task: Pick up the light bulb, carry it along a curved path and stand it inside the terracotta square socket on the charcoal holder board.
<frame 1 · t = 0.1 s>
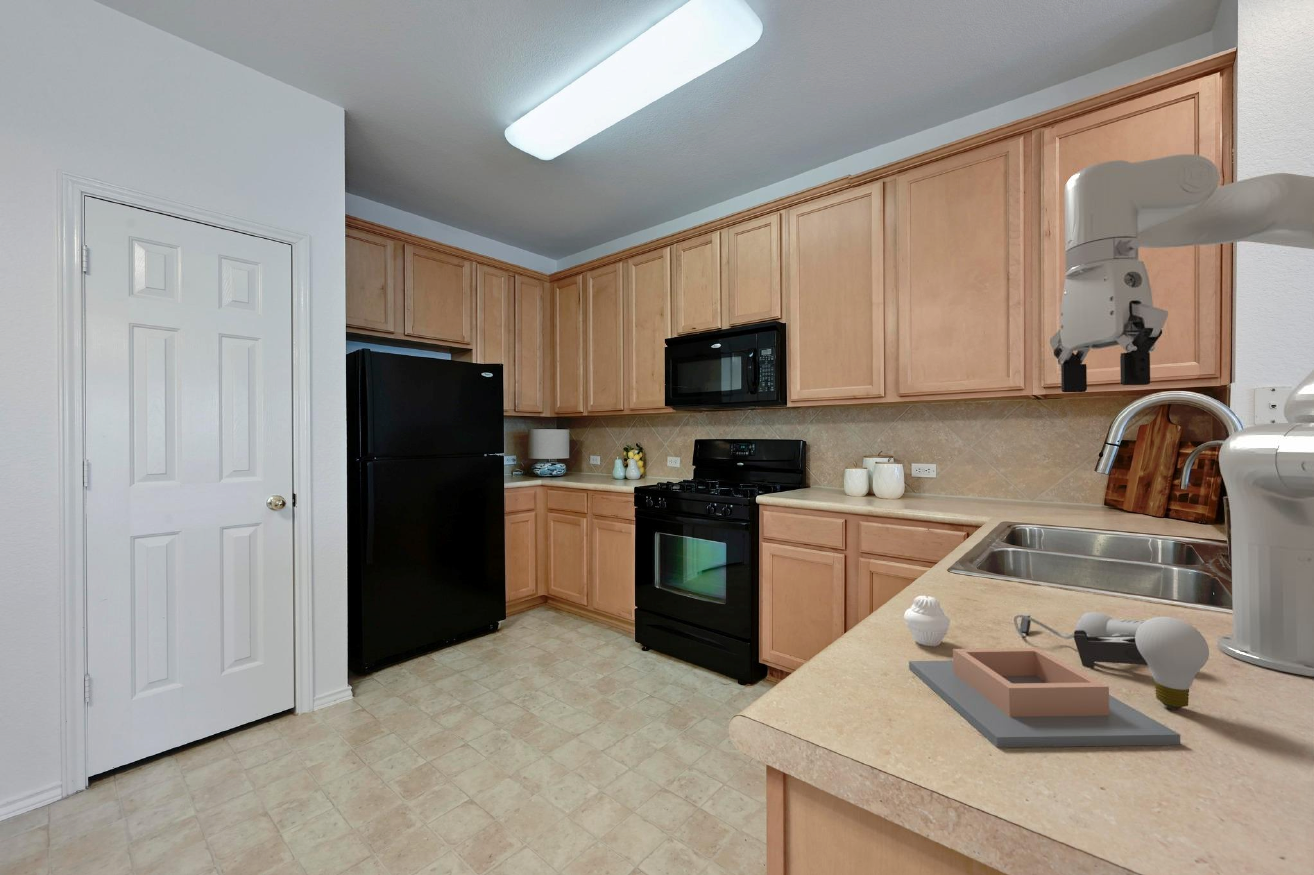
hand: (1102, 388, 71), 37 cm above the counter, tool pointing down, fingers open, 9 cm apart
light bulb: (1172, 709, 59), on the counter
clip-on lamp: (1082, 653, 75), on the counter
holder board: (1024, 701, 61), on the counter
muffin: (927, 643, 79), on the counter
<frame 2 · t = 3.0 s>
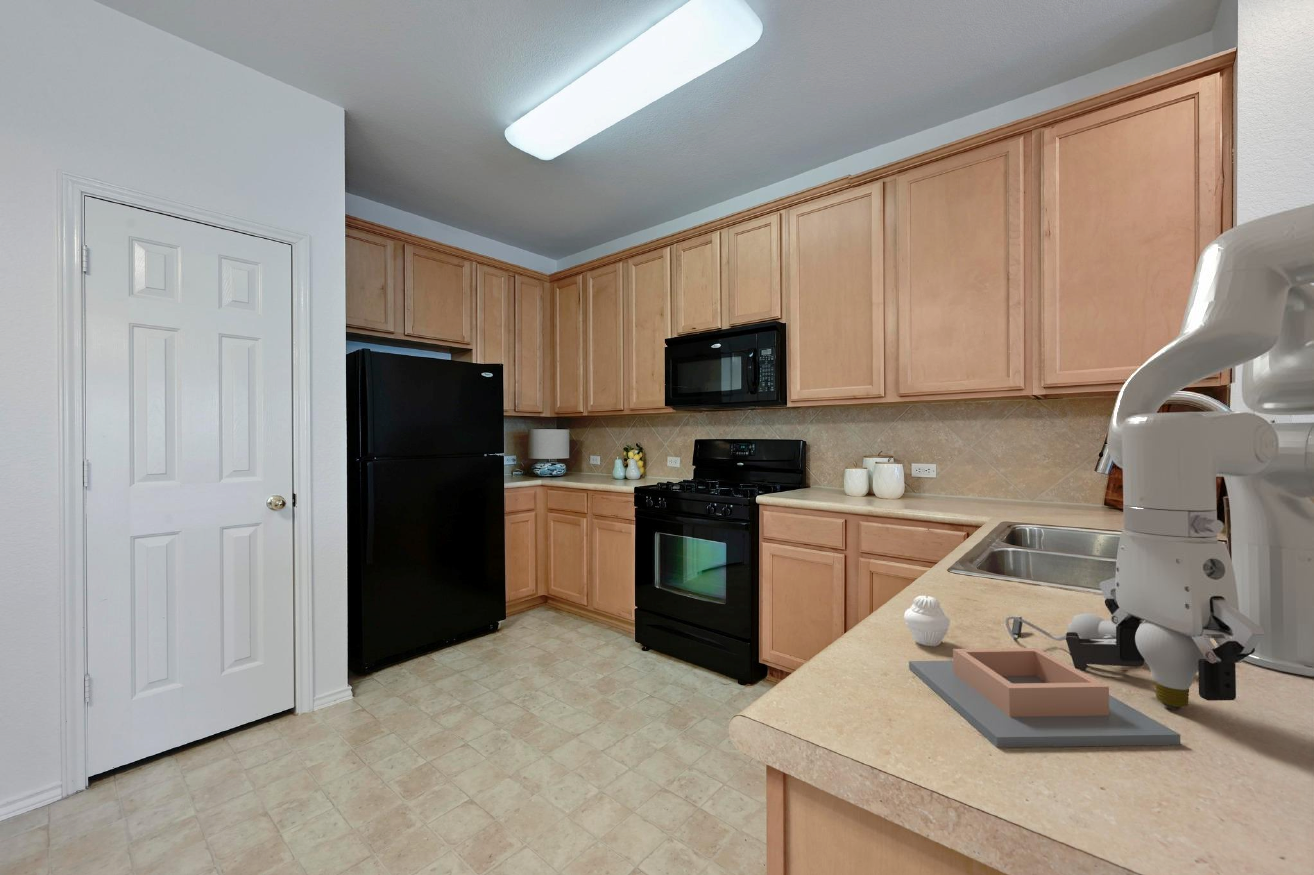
hand: (1171, 677, 59), 3 cm above the counter, tool pointing down, fingers open, 9 cm apart
clip-on lamp: (1074, 655, 74), on the counter
everything else where it was.
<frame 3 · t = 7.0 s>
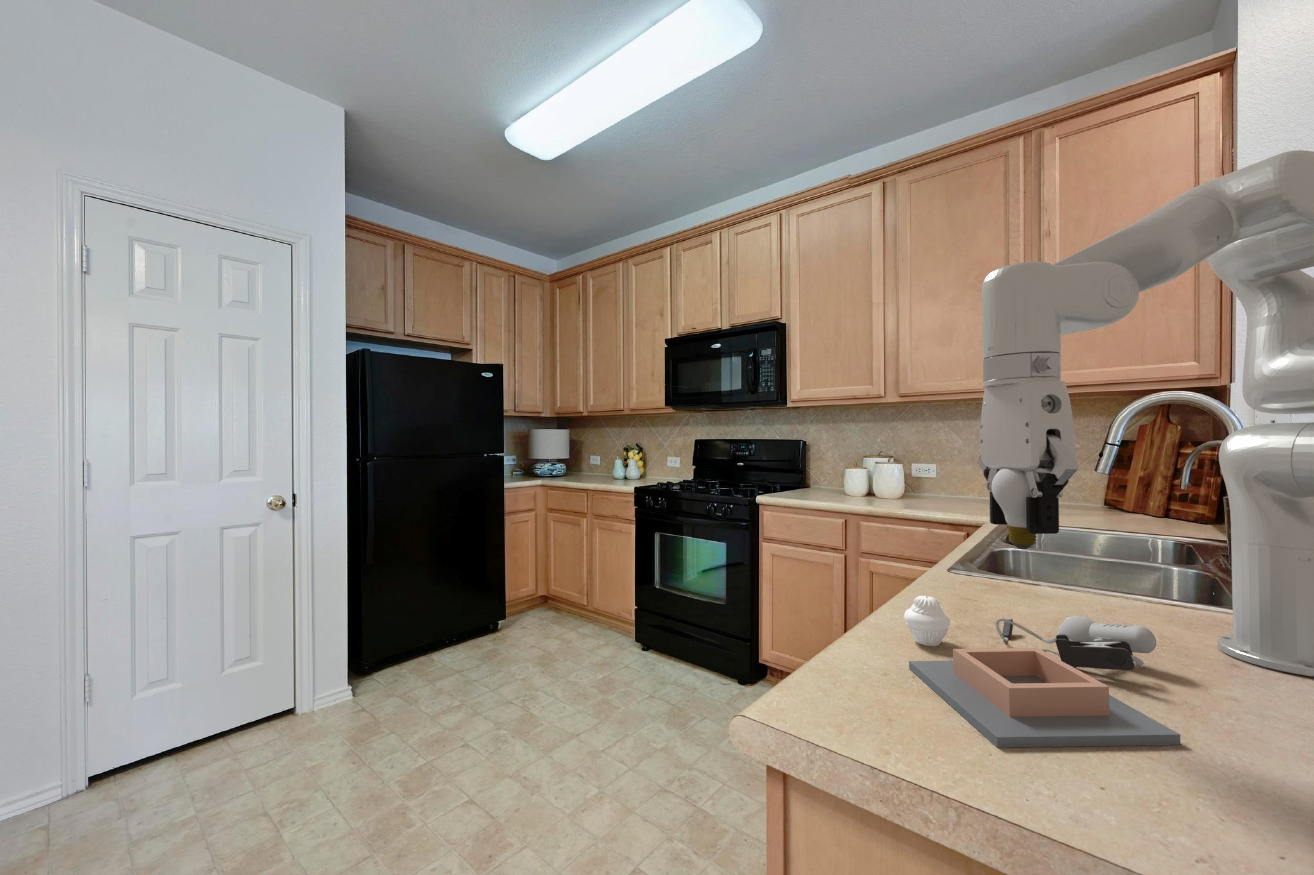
hand: (1022, 526, 62), 20 cm above the counter, tool pointing down, fingers closed on light bulb, 5 cm apart
light bulb: (1022, 550, 62), point 17 cm above the counter, touching gripper
clip-on lamp: (1064, 658, 73), on the counter
everything else where it was.
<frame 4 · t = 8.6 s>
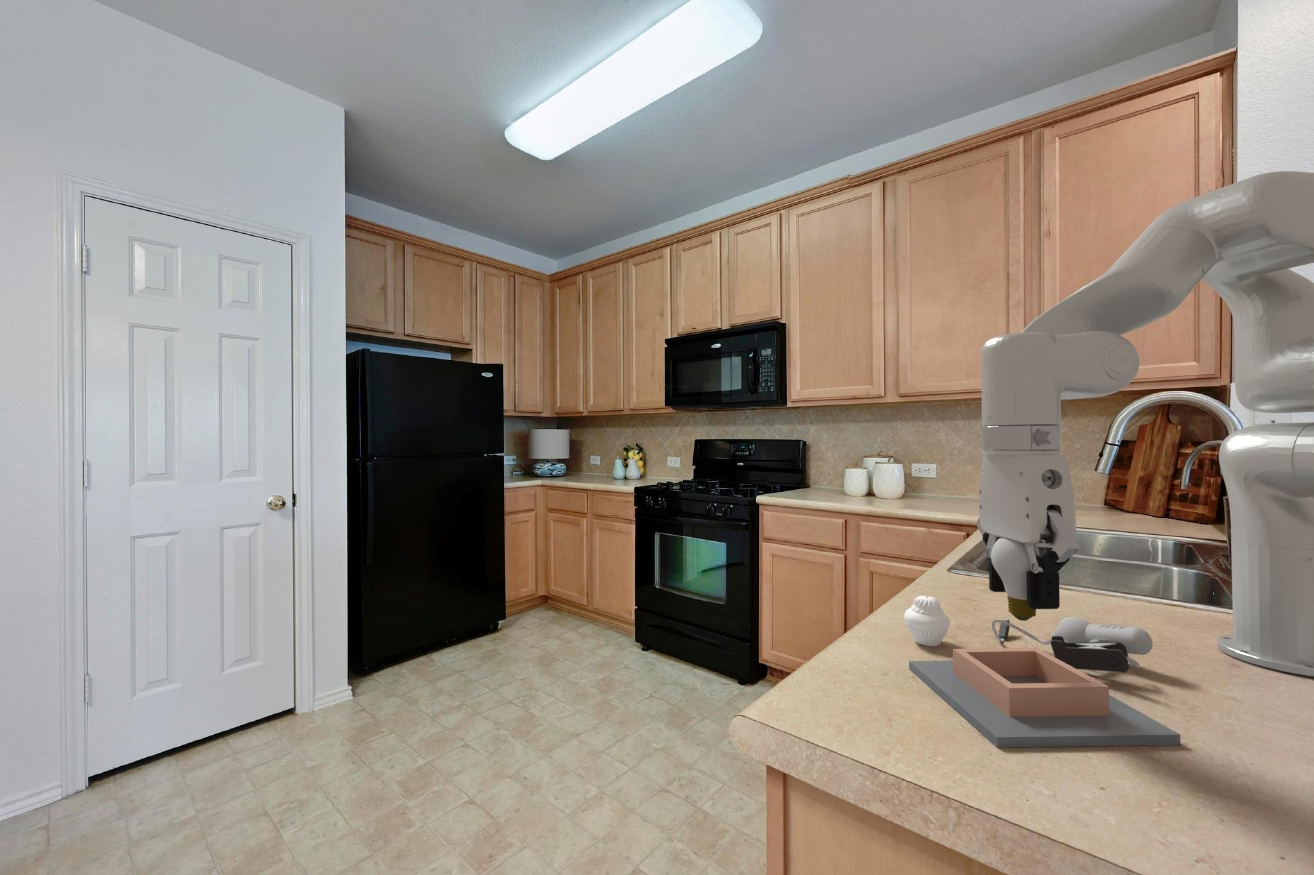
hand: (1022, 597, 61), 12 cm above the counter, tool pointing down, fingers closed on light bulb, 5 cm apart
light bulb: (1022, 621, 61), point 9 cm above the counter, touching gripper
when the fingers open (5 cm above the counter, at t = 10.3 s): light bulb drops 1 cm, resting on holder board.
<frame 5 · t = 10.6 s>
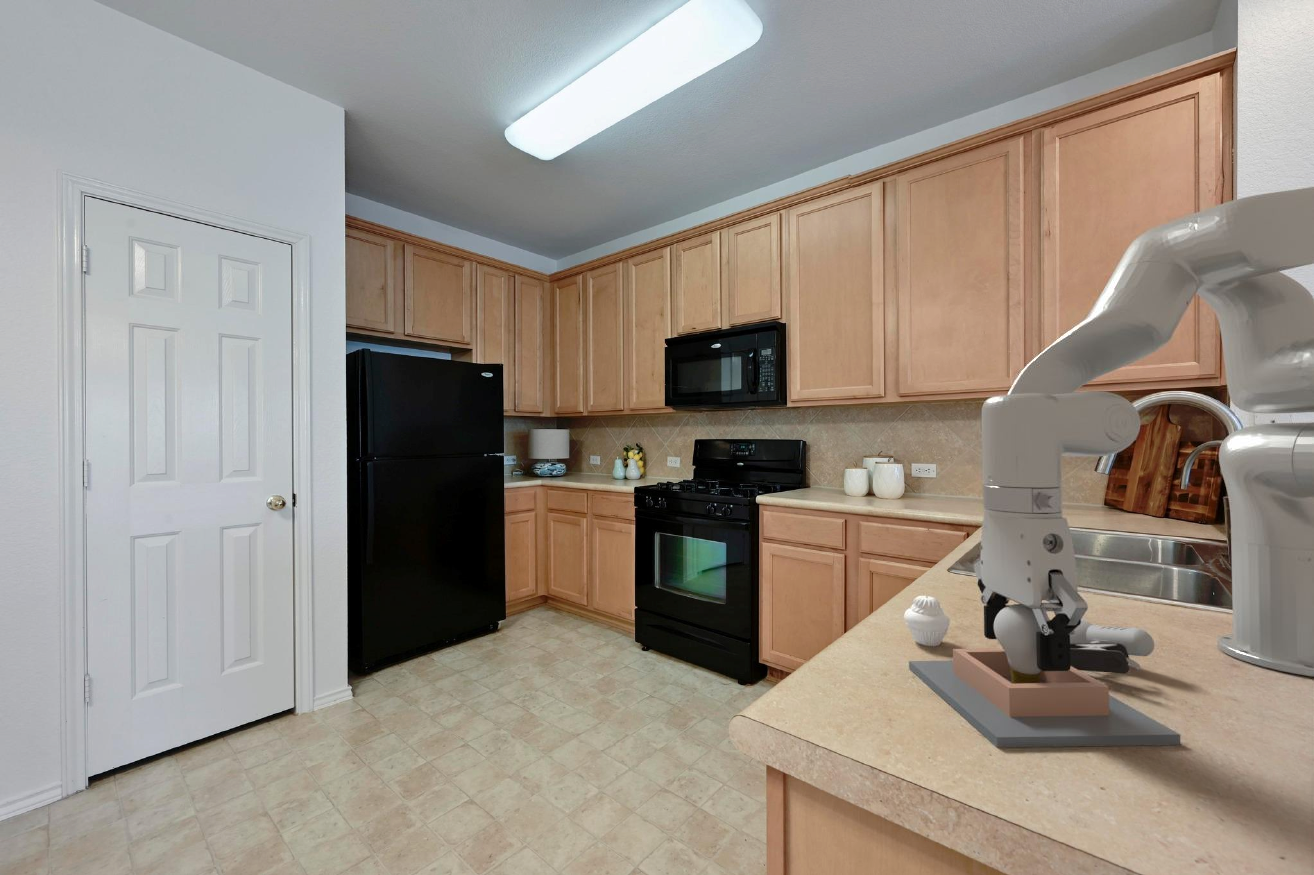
hand: (1024, 652, 61), 6 cm above the counter, tool pointing down, fingers open, 8 cm apart
light bulb: (1025, 693, 61), point 1 cm above the counter, touching holder board
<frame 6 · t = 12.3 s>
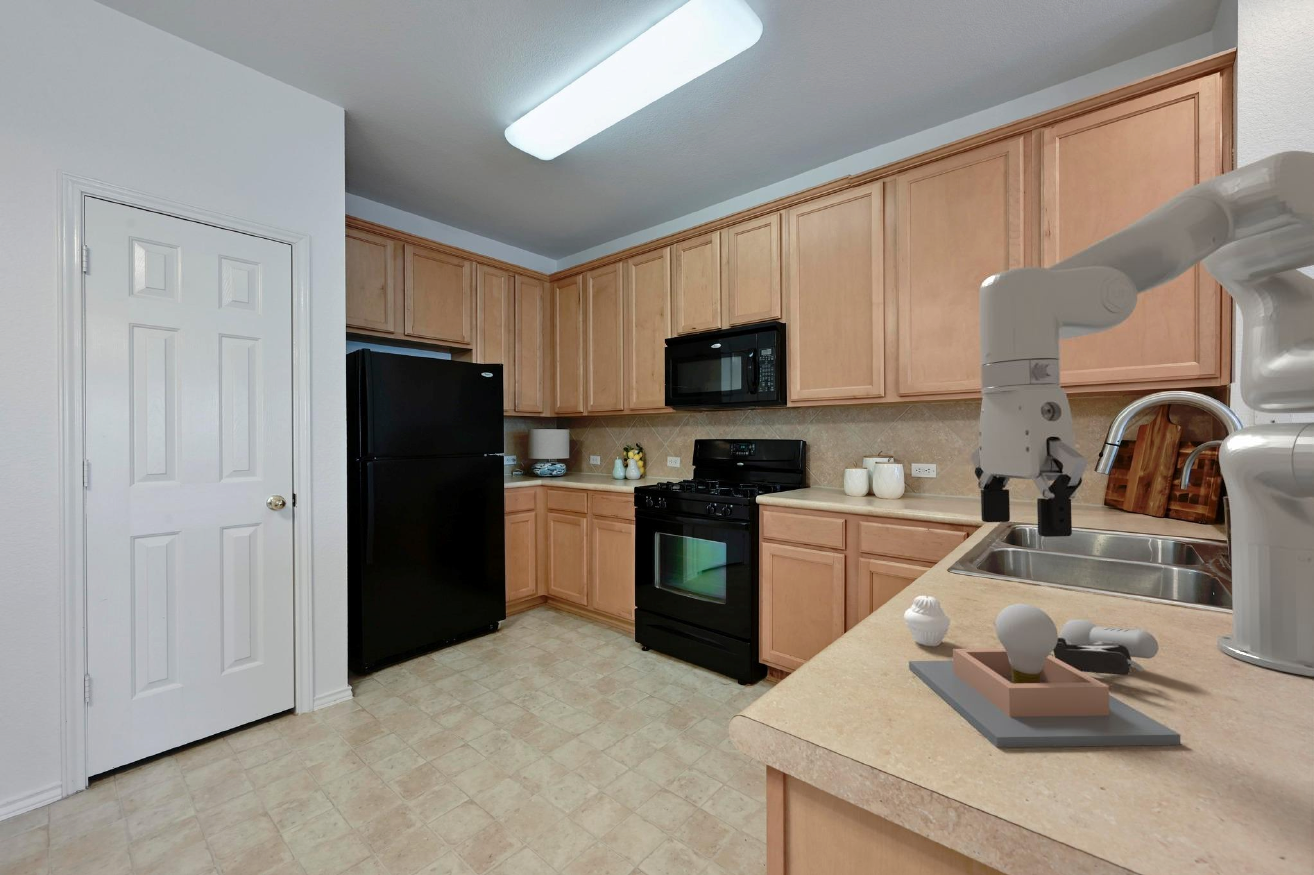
hand: (1023, 528, 61), 20 cm above the counter, tool pointing down, fingers open, 9 cm apart
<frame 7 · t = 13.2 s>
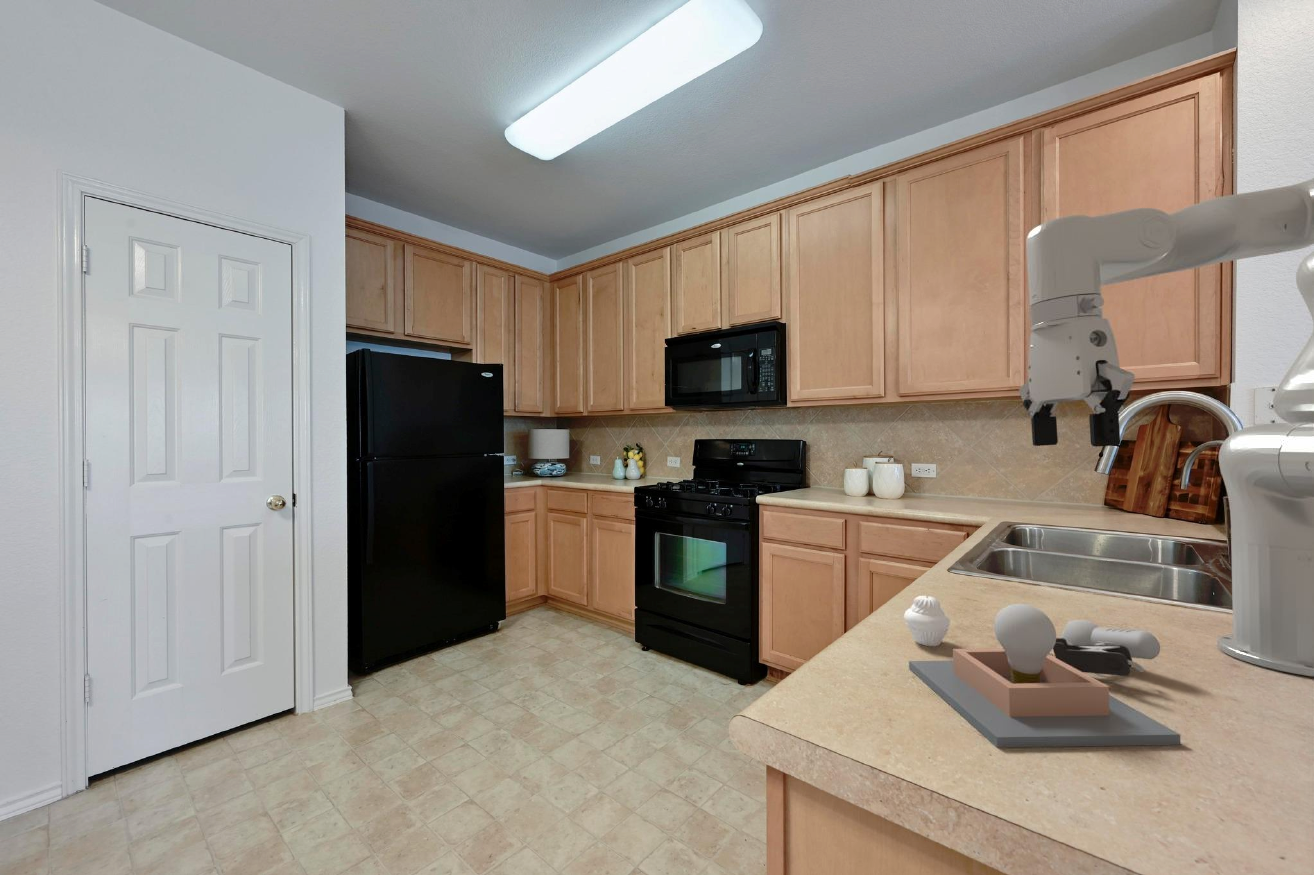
hand: (1073, 445, 70), 29 cm above the counter, tool pointing down, fingers open, 9 cm apart
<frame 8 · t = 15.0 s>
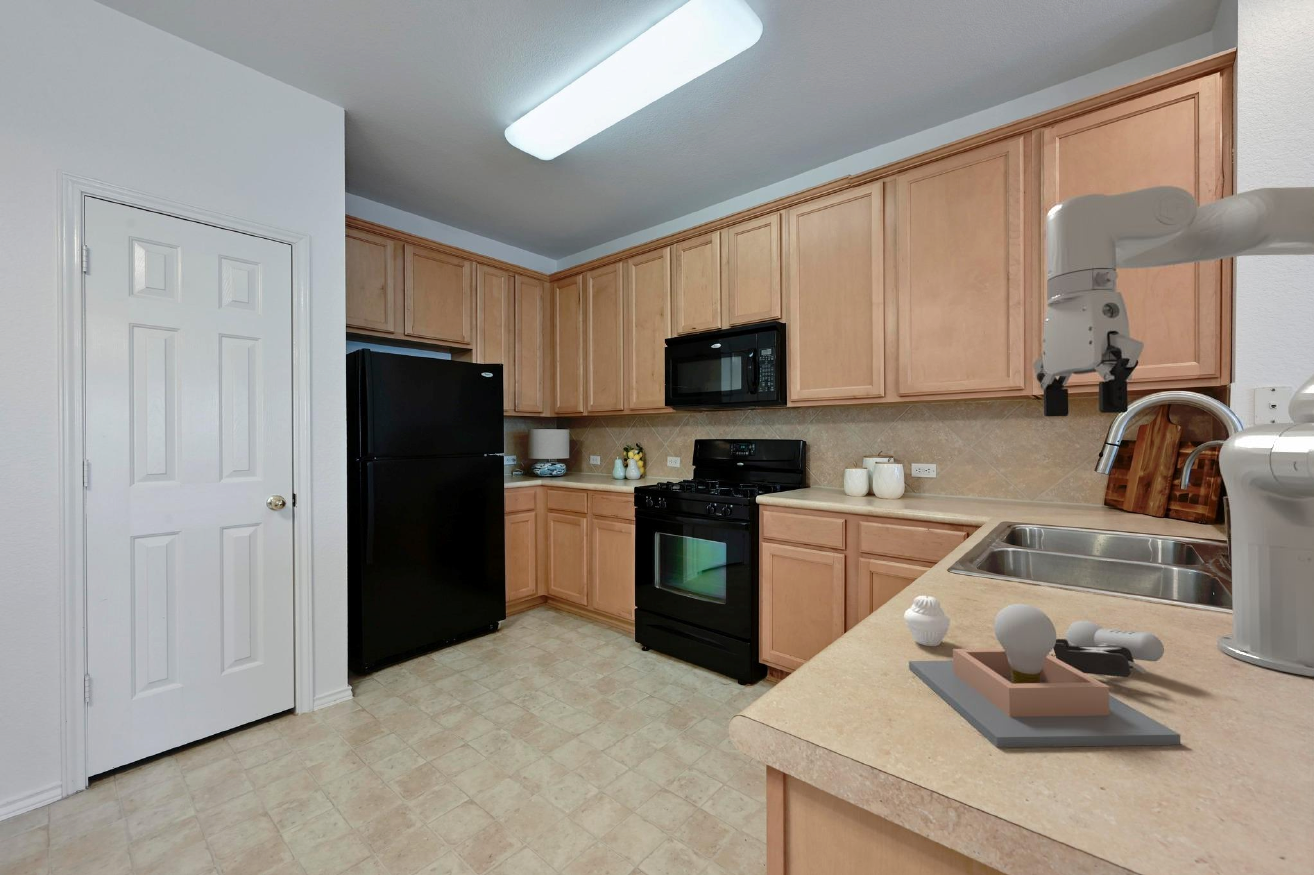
hand: (1082, 414, 73), 33 cm above the counter, tool pointing down, fingers open, 9 cm apart
at the end: light bulb 0.1 cm off-centre on the holder board, point 0.8 cm above the holder board's base; light bulb tilted 0°; the gripper is holding nothing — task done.
